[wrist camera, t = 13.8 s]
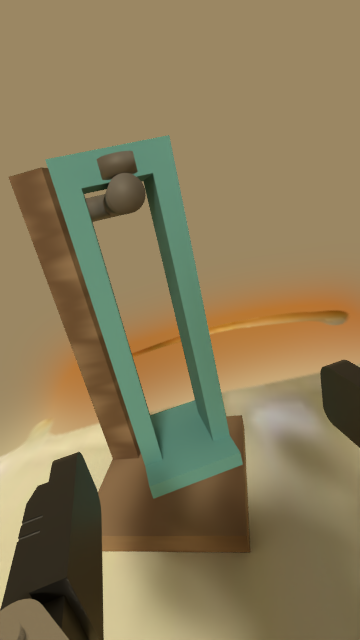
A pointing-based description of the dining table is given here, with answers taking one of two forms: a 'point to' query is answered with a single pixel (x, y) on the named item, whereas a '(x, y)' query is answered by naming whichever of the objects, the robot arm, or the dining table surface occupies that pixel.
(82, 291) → the hook stand
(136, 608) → the dining table surface
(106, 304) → the teal loop
